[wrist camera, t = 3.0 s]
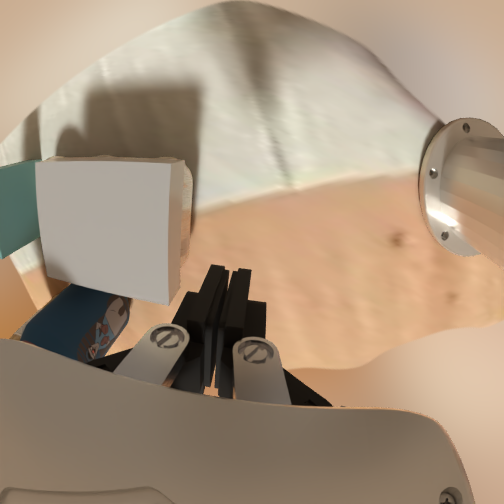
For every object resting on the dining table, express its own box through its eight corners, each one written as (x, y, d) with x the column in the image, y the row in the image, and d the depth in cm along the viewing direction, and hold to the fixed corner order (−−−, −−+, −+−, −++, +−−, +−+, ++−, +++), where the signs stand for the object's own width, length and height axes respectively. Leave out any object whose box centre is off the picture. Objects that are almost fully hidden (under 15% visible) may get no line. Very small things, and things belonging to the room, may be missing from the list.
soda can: (71, 286, 27) (4, 350, 16) (101, 254, 25) (20, 323, 14) (111, 332, 28) (58, 408, 17) (147, 307, 26) (89, 396, 15)
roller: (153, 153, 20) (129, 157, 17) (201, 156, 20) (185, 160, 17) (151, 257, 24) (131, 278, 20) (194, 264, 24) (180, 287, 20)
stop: (41, 159, 21) (-9, 171, 15) (46, 233, 24) (2, 259, 18) (27, 160, 21) (-21, 172, 15) (32, 231, 25) (-11, 255, 18)
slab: (185, 160, 17) (171, 163, 14) (180, 287, 20) (168, 305, 18) (56, 157, 17) (35, 162, 15) (64, 263, 21) (47, 276, 18)
